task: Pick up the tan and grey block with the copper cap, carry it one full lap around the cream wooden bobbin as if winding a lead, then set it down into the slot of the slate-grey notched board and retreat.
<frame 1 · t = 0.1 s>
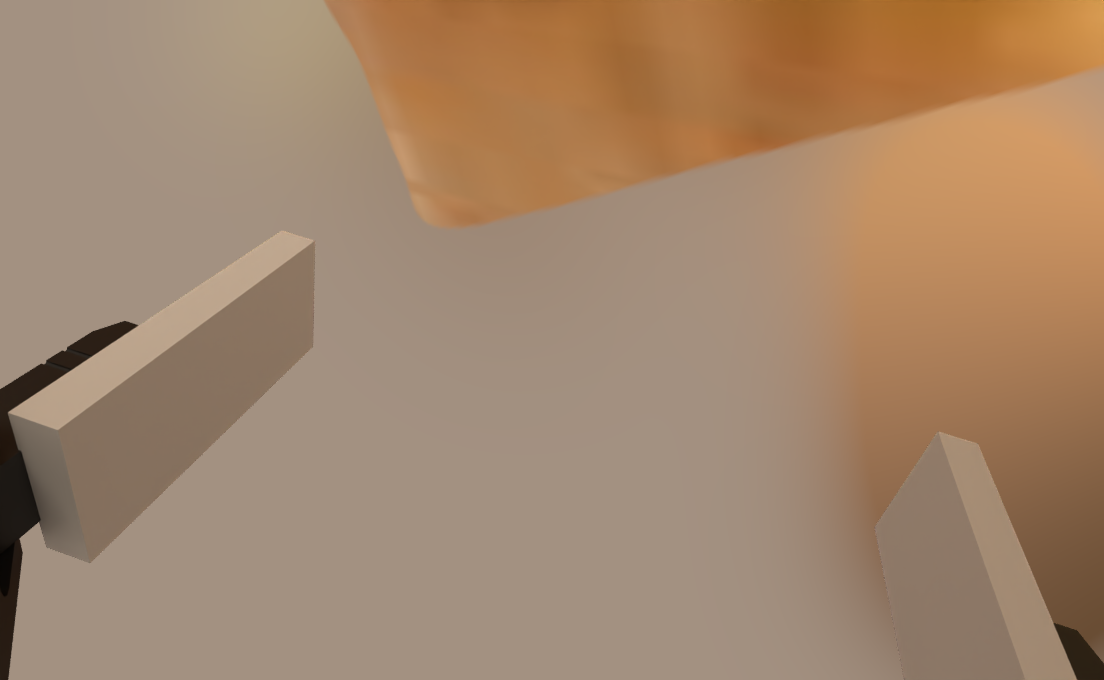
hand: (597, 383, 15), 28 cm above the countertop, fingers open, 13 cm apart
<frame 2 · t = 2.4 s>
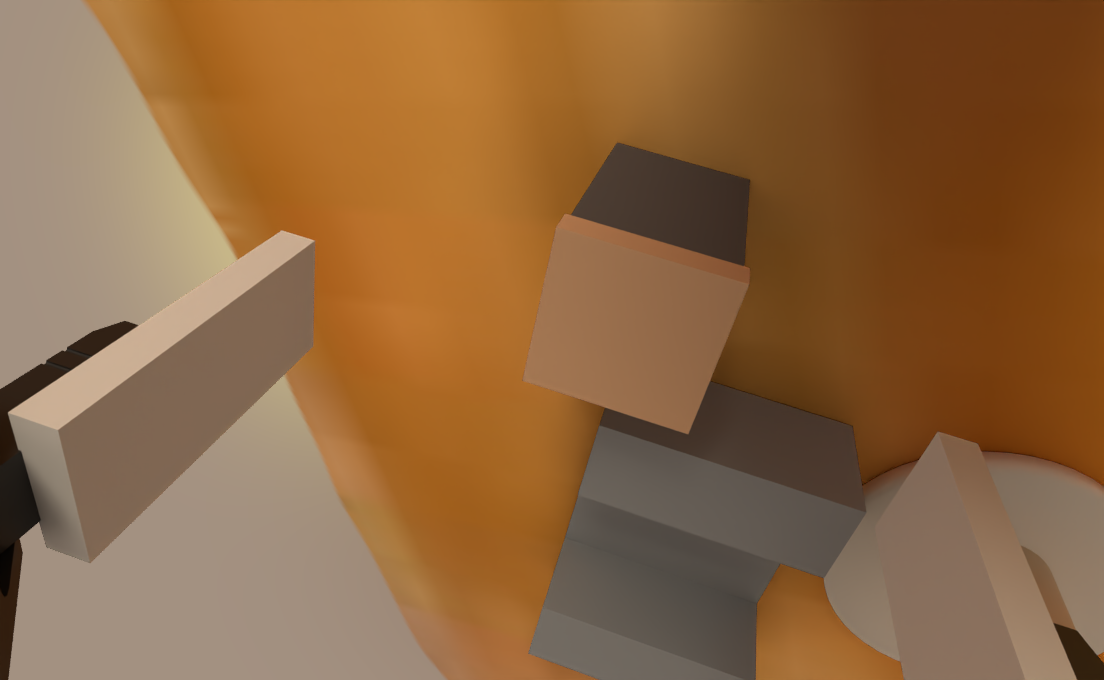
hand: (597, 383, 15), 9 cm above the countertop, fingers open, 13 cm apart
tan and grey block: (663, 222, 22), on the countertop
notch board: (683, 509, 27), on the countertop
bobbin: (971, 562, 25), on the countertop
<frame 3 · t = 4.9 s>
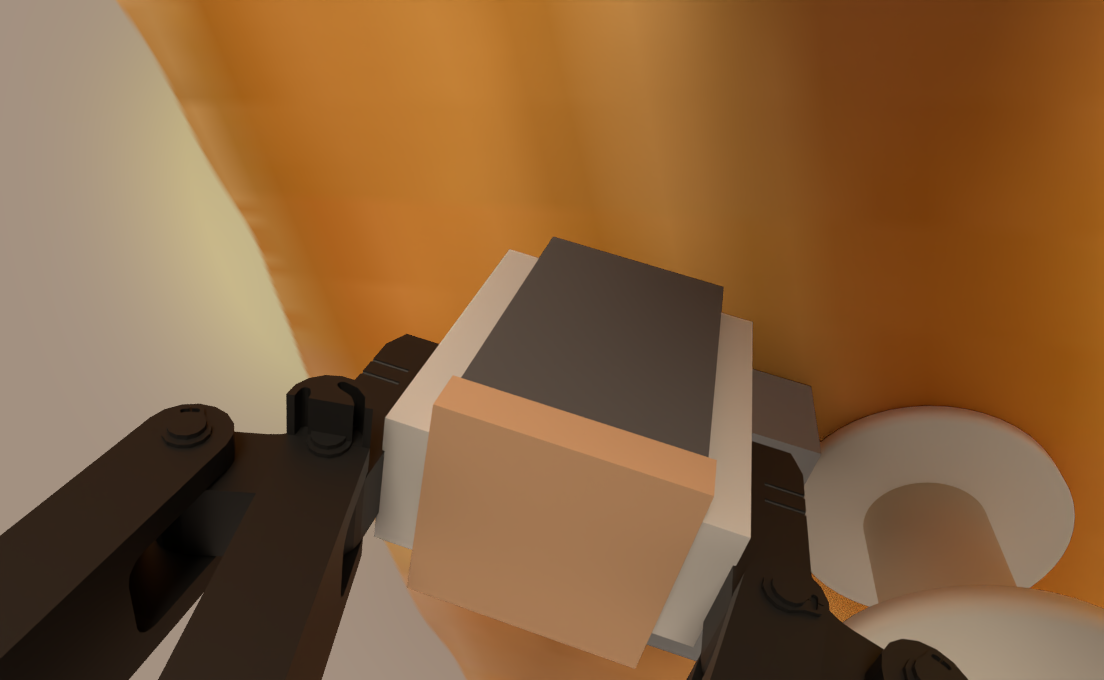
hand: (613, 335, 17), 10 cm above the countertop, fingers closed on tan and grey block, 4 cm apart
tan and grey block: (615, 334, 17), point 9 cm above the countertop, touching gripper
notch board: (664, 469, 30), on the countertop
bobbin: (918, 508, 29), on the countertop
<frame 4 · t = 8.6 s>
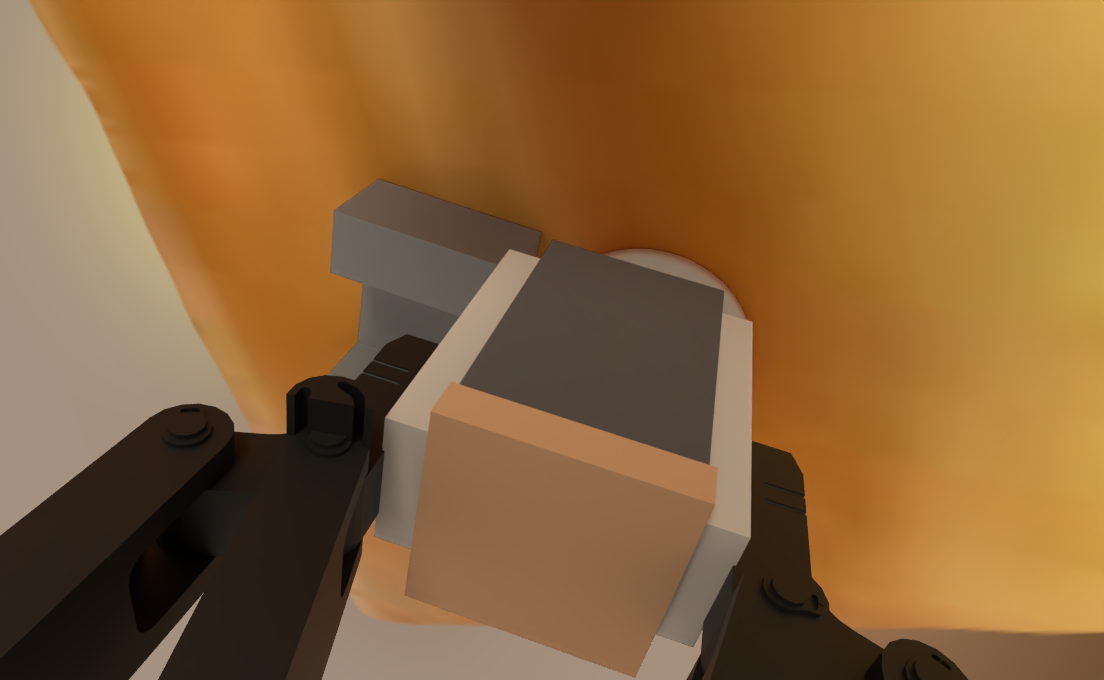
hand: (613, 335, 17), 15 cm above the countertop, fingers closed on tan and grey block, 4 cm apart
tan and grey block: (615, 338, 17), point 14 cm above the countertop, touching gripper
notch board: (441, 313, 36), on the countertop
bobbin: (642, 345, 34), on the countertop
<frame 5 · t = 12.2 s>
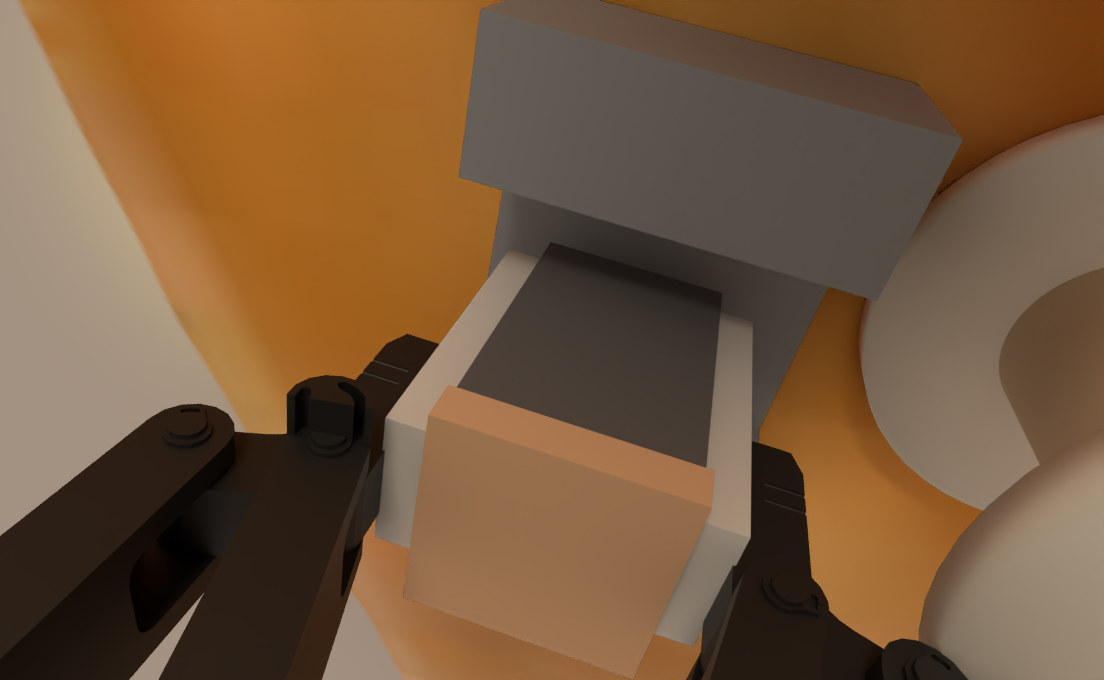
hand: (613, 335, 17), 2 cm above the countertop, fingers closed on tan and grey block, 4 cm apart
tan and grey block: (613, 340, 17), point 2 cm above the countertop, touching gripper
notch board: (648, 279, 18), on the countertop
bobbin: (1099, 333, 16), on the countertop
when the fingers open (2 cm above the countertop, at t = 12.3 s): tan and grey block drops 1 cm, resting on notch board.
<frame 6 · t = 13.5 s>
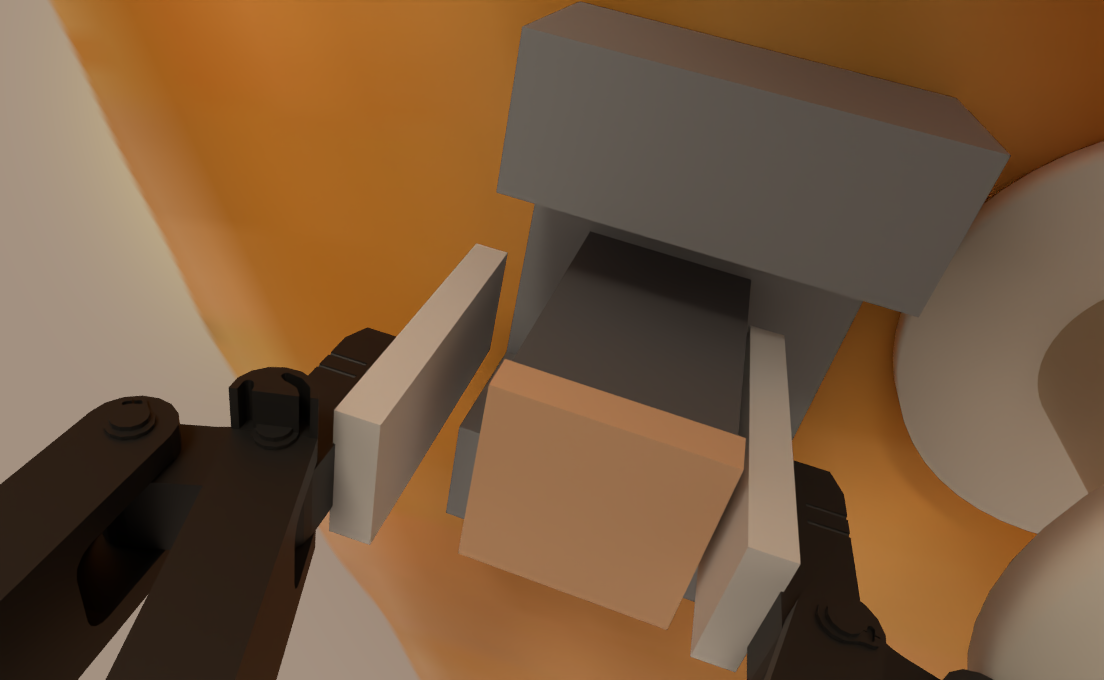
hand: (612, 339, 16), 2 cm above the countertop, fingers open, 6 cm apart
tan and grey block: (647, 324, 18), point 1 cm above the countertop, touching notch board
notch board: (679, 292, 18), on the countertop
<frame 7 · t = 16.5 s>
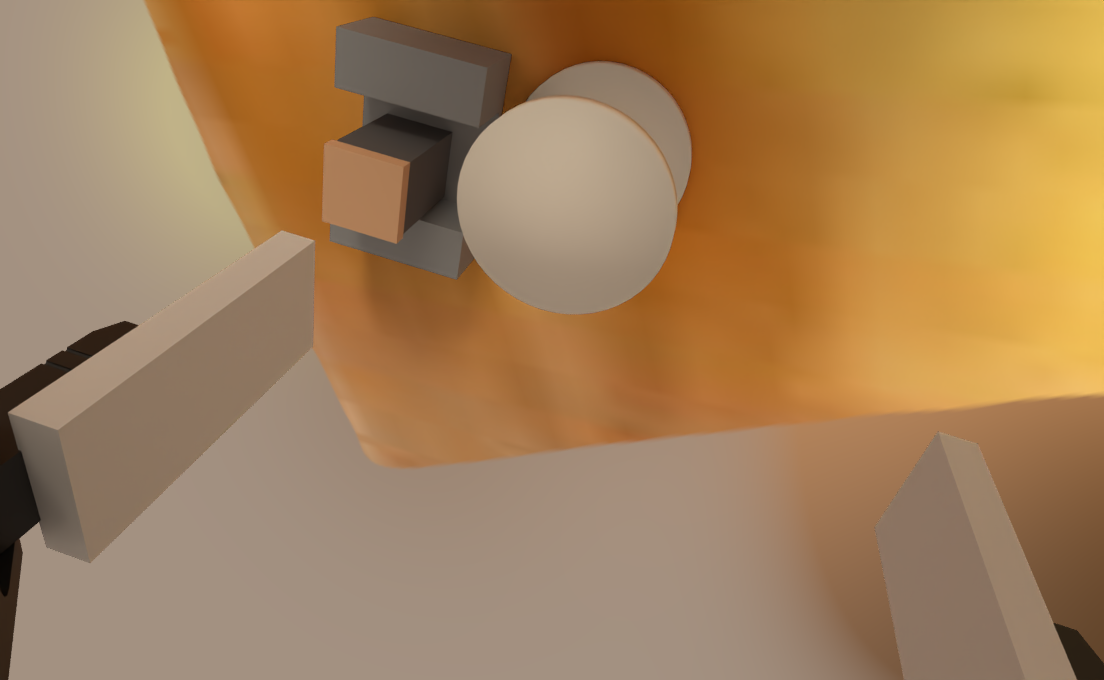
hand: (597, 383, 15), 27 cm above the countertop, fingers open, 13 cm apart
tan and grey block: (416, 156, 42), point 1 cm above the countertop, touching notch board
notch board: (430, 142, 42), on the countertop
bobbin: (601, 155, 40), on the countertop
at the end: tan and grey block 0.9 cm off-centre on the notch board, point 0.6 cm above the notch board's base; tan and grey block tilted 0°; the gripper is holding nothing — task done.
